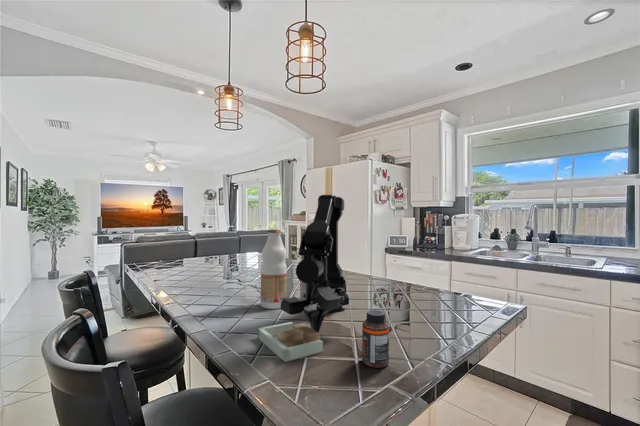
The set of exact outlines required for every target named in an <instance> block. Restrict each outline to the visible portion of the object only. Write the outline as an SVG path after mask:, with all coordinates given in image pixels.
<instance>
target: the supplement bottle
mask: <svg viewBox="0 0 640 426" xmlns="http://www.w3.org/2000/svg"><path fill="white" fill-rule="evenodd" d="M385 315H386V313H385V312H384V311H382V310H380V309H379V310H377V309H369V310H368V311H366V319H364V321H362V326H361V327H362V329H361V331H362V339H361V341H362V343H361V359H362V363H364V365H366V366H367V367H370V368H372V369H373V368H375V369H381V368H385V367H387V366H388V365H389V363H390V362H389V361H390V326H389V323H388V322H387V321H386V320H385V319H386V316H385Z"/></svg>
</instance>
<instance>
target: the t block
mask: <svg viewBox="0 0 640 426" xmlns="http://www.w3.org/2000/svg"><path fill="white" fill-rule="evenodd" d="M276 339H277V340H278V341H279V342H281V343H282V344H283V345H285V346H286V347H287V348H288V347H292V346H297V345H301V344H305V343H309V342H313V341H317V340H321V336H320V332H319V333H318V332H316V331H314V330H313V329H312V328H311V327H309V326H307V325H306V324H304V323H297V324H293V325H292V330H289V331H284V332H279V333H277V336H276Z"/></svg>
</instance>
